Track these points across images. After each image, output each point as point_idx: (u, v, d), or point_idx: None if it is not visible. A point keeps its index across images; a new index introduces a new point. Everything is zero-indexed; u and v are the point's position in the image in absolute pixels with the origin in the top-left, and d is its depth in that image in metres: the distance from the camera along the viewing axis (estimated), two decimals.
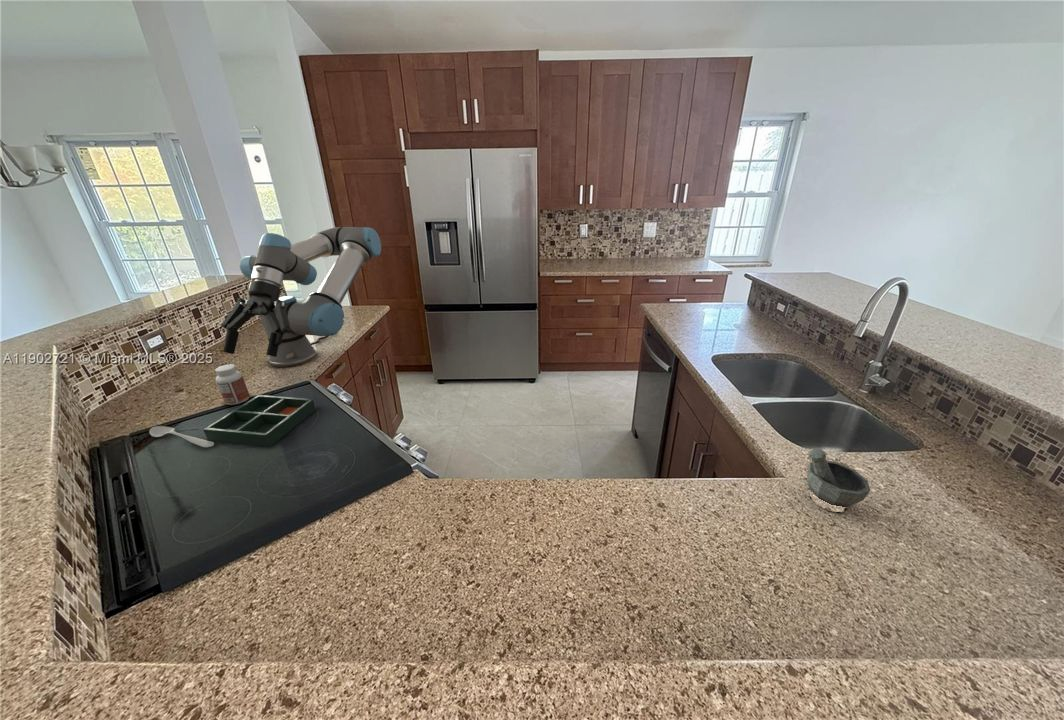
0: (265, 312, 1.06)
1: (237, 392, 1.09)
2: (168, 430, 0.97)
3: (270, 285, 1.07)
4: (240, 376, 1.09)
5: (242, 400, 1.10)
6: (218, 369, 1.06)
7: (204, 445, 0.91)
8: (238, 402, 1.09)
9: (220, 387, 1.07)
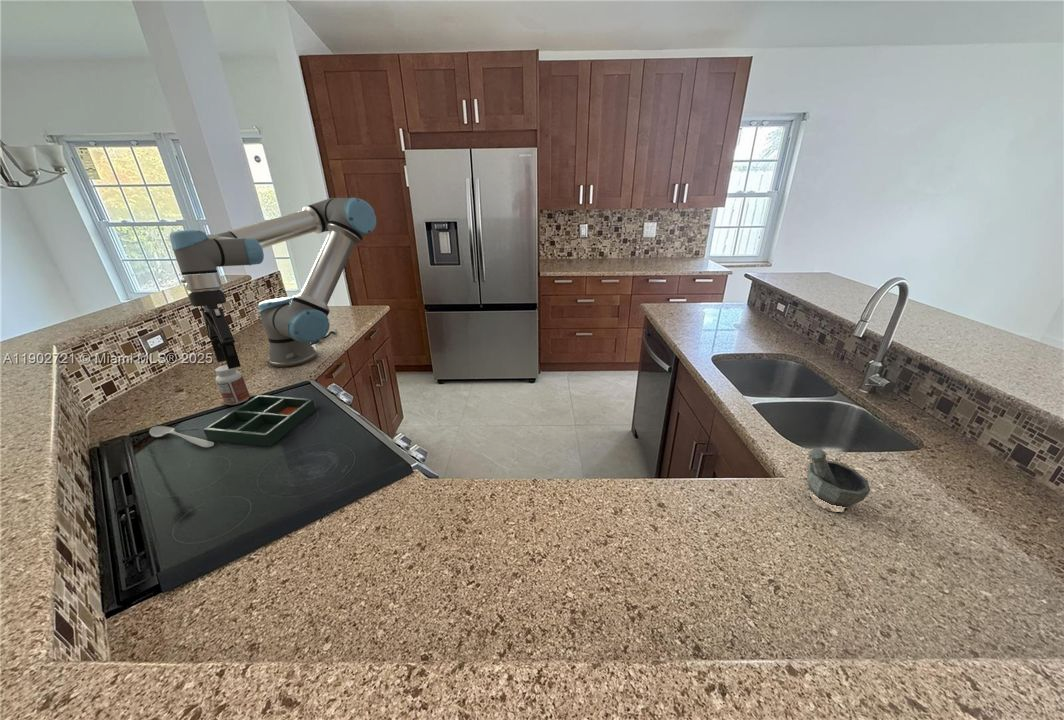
0: (210, 324, 1.00)
1: (237, 392, 1.09)
2: (168, 430, 0.97)
3: (199, 294, 0.98)
4: (240, 376, 1.09)
5: (242, 400, 1.10)
6: (218, 369, 1.06)
7: (204, 445, 0.91)
8: (238, 402, 1.09)
9: (220, 387, 1.07)
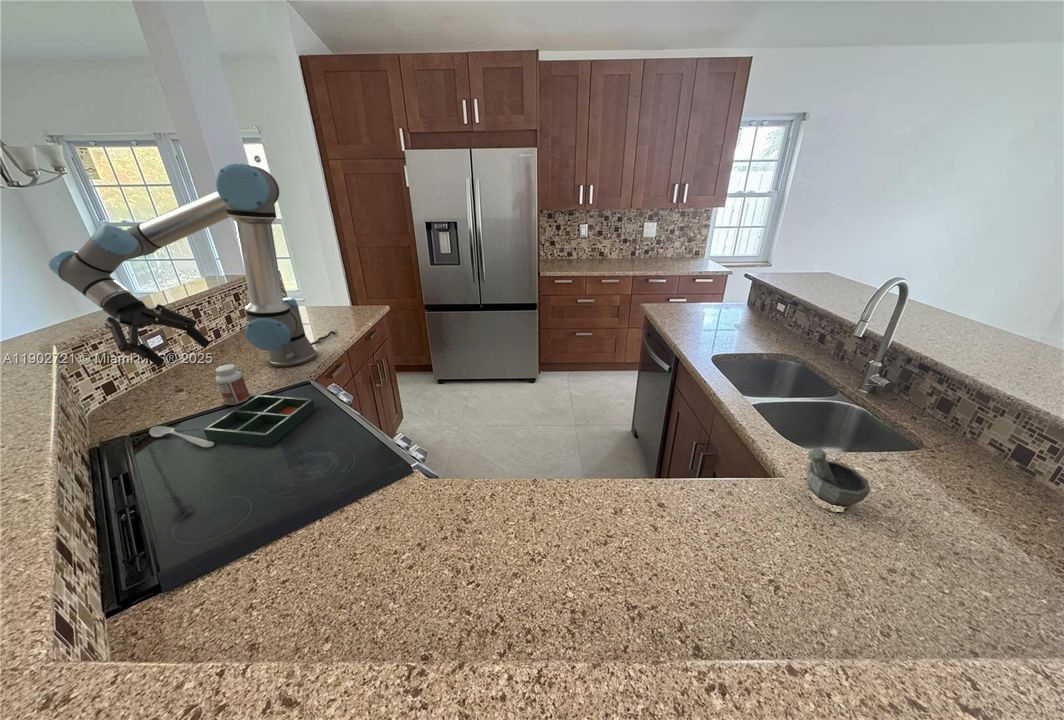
0: None
1: (237, 392, 1.09)
2: (168, 430, 0.97)
3: (104, 310, 1.00)
4: (240, 376, 1.09)
5: (242, 400, 1.10)
6: (218, 369, 1.06)
7: (204, 445, 0.91)
8: (238, 402, 1.09)
9: (220, 387, 1.07)
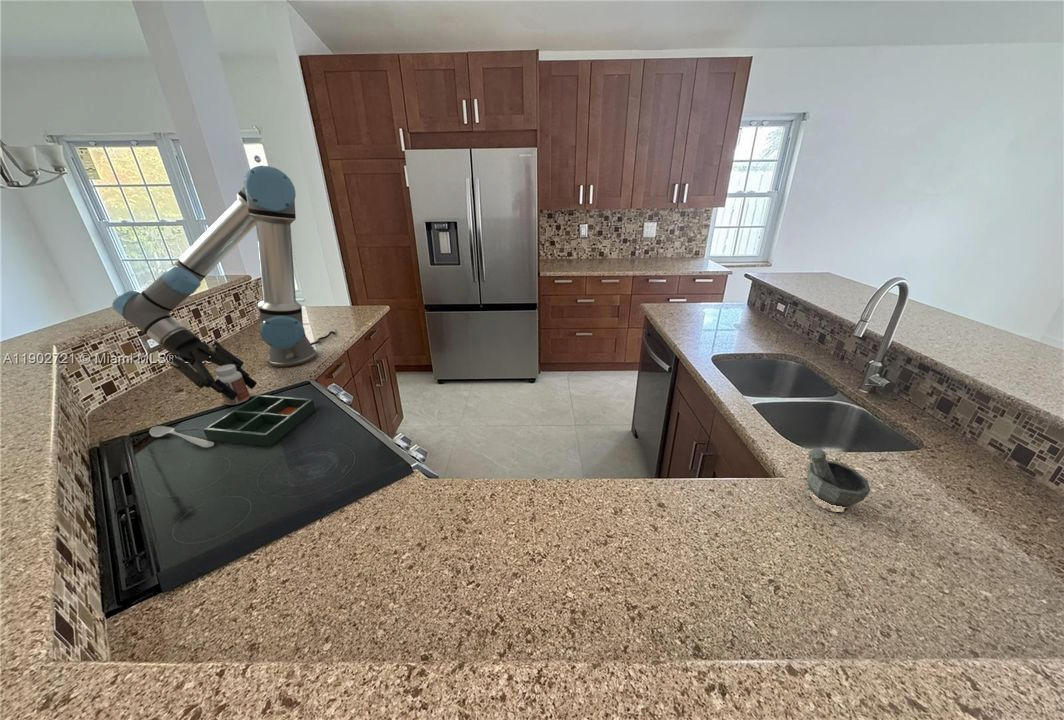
0: None
1: (237, 392, 1.09)
2: (168, 430, 0.97)
3: (164, 348, 1.03)
4: (240, 376, 1.09)
5: (242, 400, 1.10)
6: (218, 369, 1.06)
7: (204, 445, 0.92)
8: (238, 402, 1.09)
9: None
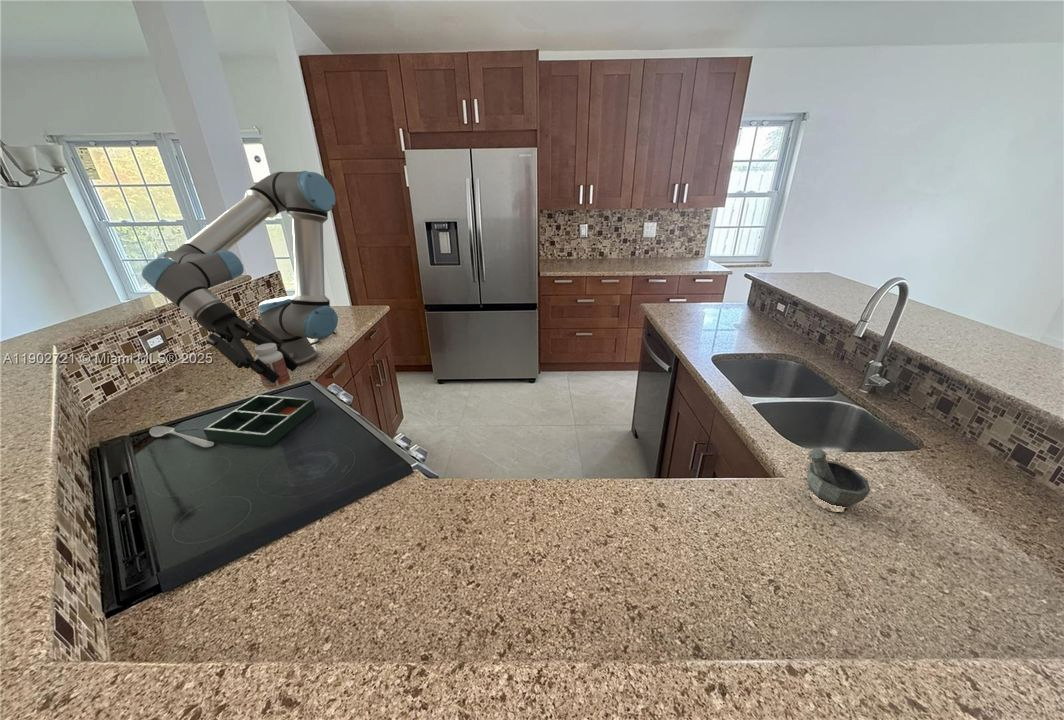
0: None
1: None
2: (168, 430, 0.97)
3: (198, 322, 0.91)
4: (281, 356, 0.97)
5: (283, 383, 0.98)
6: (258, 348, 0.94)
7: (204, 445, 0.91)
8: (278, 386, 0.97)
9: None
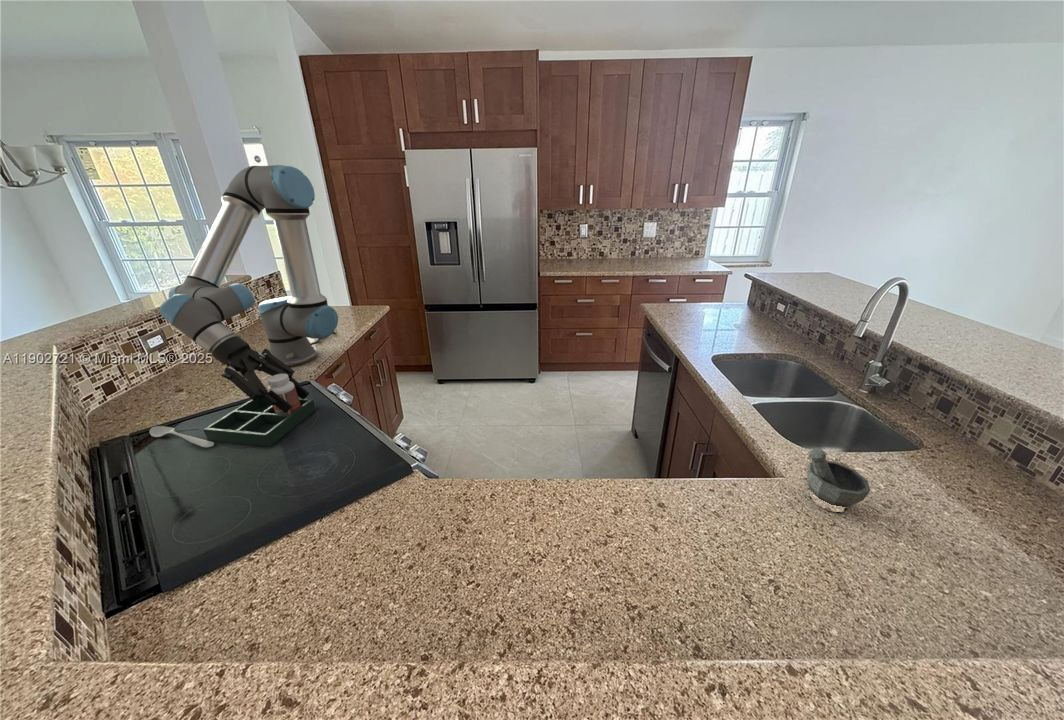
0: None
1: (290, 404, 1.00)
2: (168, 430, 0.97)
3: (213, 356, 0.94)
4: (293, 386, 1.01)
5: None
6: (271, 379, 0.98)
7: (204, 445, 0.91)
8: None
9: None
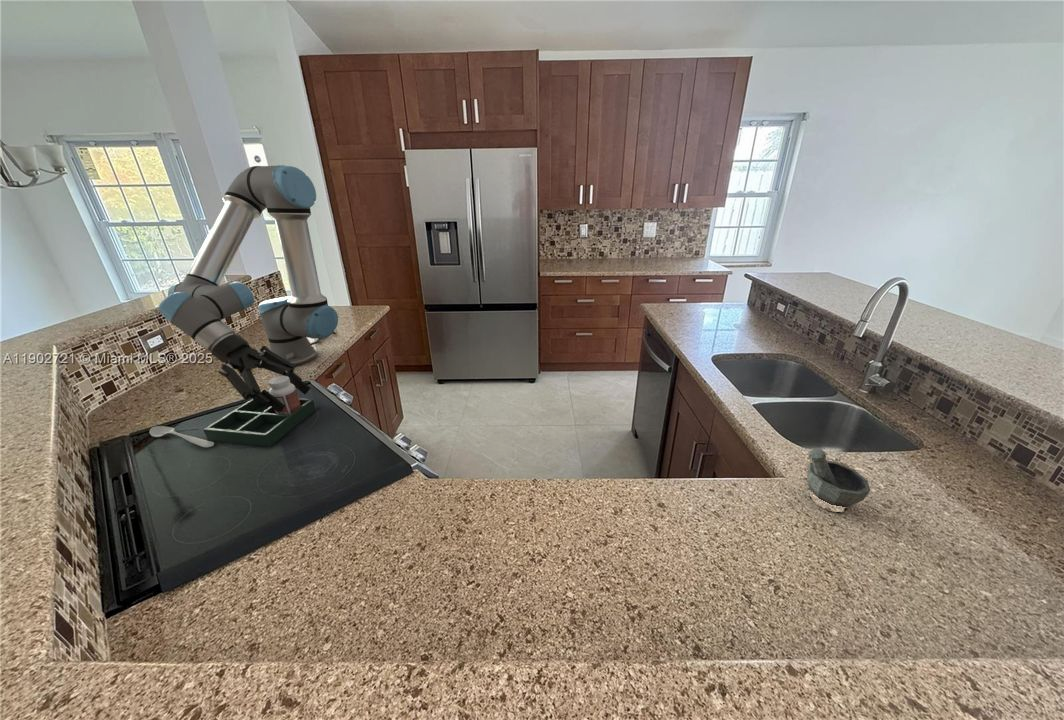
0: None
1: (291, 406, 1.00)
2: (168, 430, 0.97)
3: (212, 354, 0.94)
4: (294, 388, 1.01)
5: None
6: (272, 381, 0.98)
7: (204, 445, 0.91)
8: None
9: None
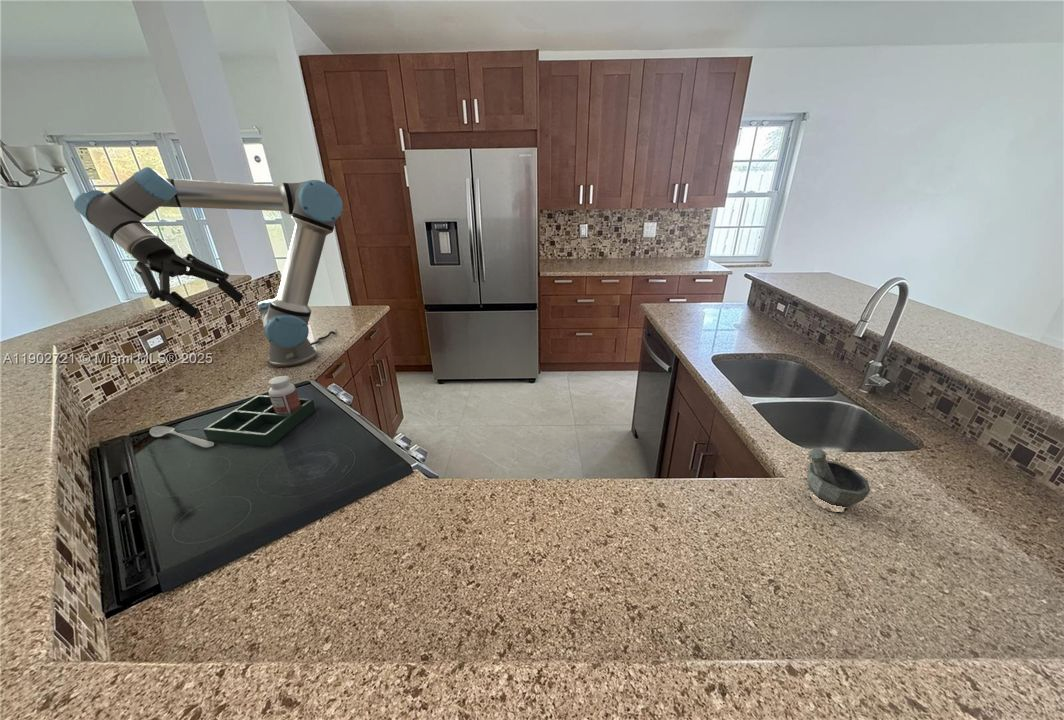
0: None
1: (291, 406, 1.00)
2: (168, 430, 0.97)
3: (133, 256, 0.92)
4: (294, 388, 1.01)
5: None
6: (272, 381, 0.98)
7: (204, 445, 0.91)
8: None
9: (274, 401, 0.98)
